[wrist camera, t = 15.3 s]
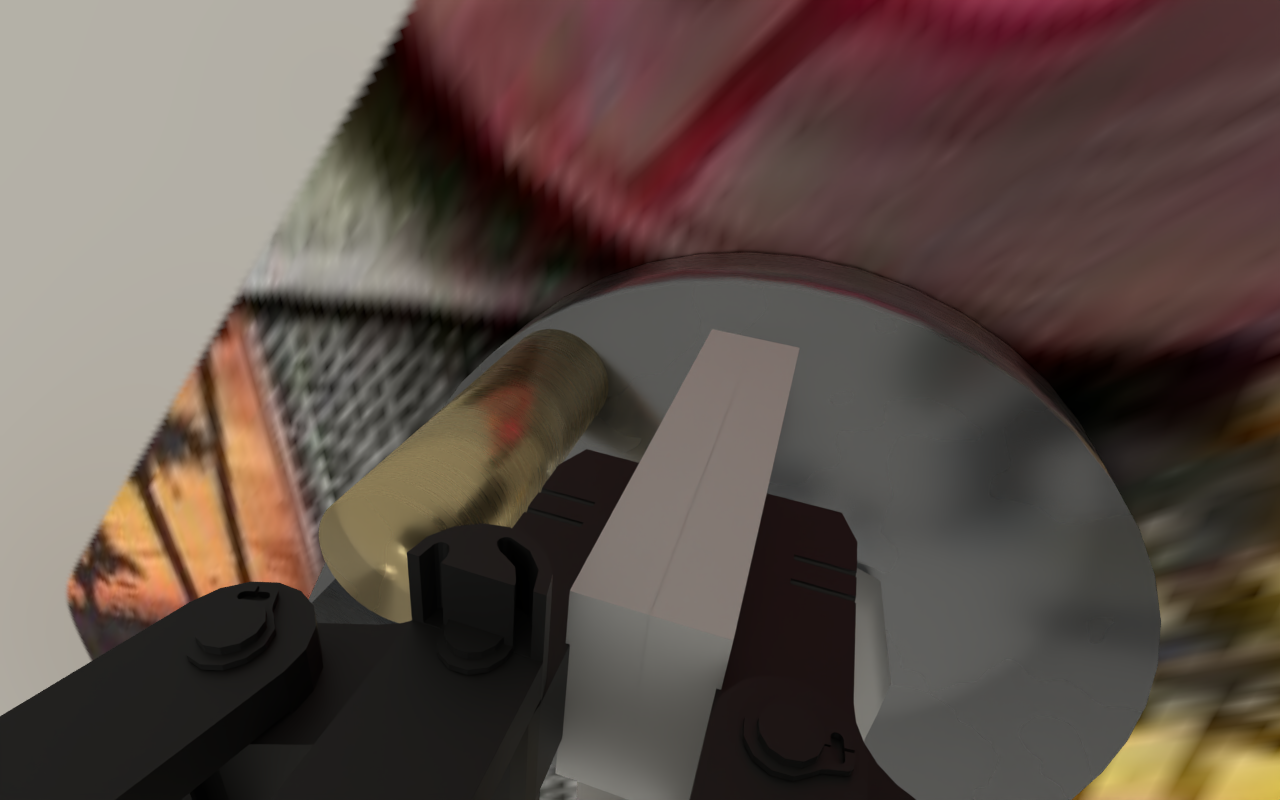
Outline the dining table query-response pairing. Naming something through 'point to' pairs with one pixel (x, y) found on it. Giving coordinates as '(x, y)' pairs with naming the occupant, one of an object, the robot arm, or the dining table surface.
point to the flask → (868, 666)
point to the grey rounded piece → (834, 499)
